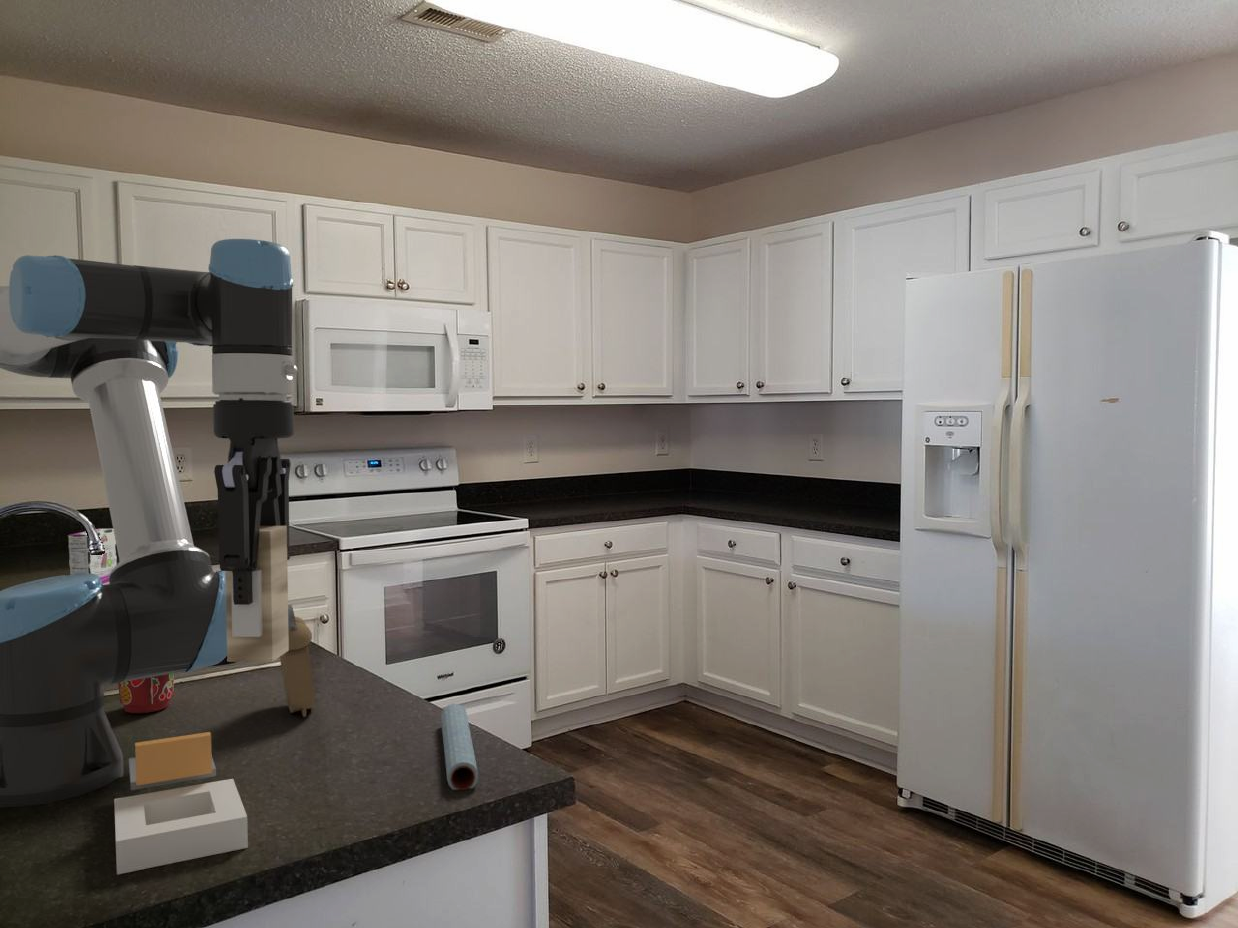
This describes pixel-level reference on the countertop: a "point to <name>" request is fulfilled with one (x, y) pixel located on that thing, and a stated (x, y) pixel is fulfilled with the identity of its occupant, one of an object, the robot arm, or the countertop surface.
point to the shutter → (171, 761)
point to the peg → (265, 602)
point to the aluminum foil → (458, 748)
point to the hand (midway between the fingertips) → (257, 629)
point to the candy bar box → (92, 563)
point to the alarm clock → (298, 666)
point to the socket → (178, 825)
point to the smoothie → (146, 693)
